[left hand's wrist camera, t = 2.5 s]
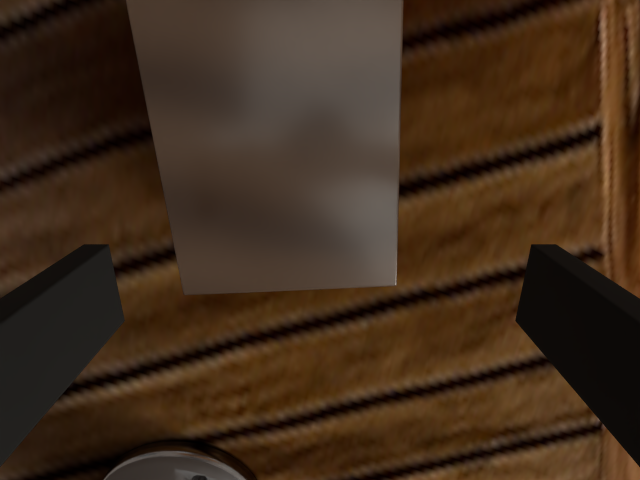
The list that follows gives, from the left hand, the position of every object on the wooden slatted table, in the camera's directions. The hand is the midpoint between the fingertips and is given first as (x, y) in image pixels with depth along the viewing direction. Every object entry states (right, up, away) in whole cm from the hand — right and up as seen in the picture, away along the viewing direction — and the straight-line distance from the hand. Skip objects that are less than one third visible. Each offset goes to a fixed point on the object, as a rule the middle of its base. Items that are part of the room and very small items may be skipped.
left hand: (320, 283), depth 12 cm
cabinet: (-2, +11, +12) cm, 16 cm away
